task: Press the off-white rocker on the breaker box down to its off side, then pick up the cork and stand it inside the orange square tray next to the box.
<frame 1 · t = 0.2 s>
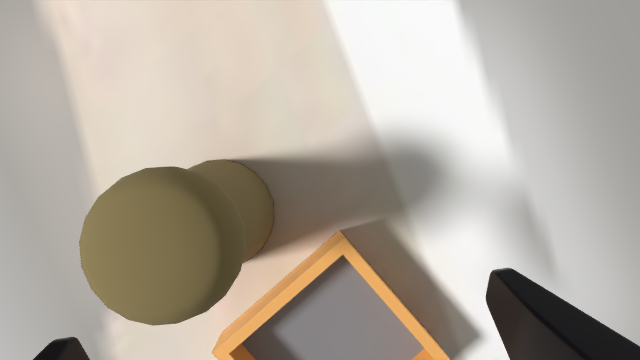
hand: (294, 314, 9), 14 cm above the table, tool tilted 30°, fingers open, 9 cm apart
cork: (220, 213, 23), on the table
orange square tray: (331, 338, 24), on the table
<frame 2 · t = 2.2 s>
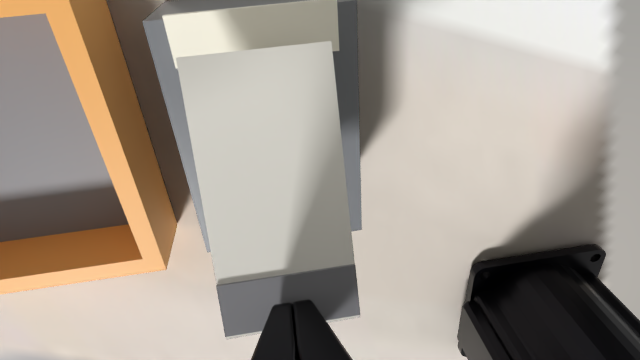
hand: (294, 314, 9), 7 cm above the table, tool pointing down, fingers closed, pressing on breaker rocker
breaker box: (267, 104, 14), on the table
orange square tray: (4, 136, 13), on the table
breaker rocker: (275, 193, 9), point 6 cm above the table, hinge at 20.0°, touching gripper
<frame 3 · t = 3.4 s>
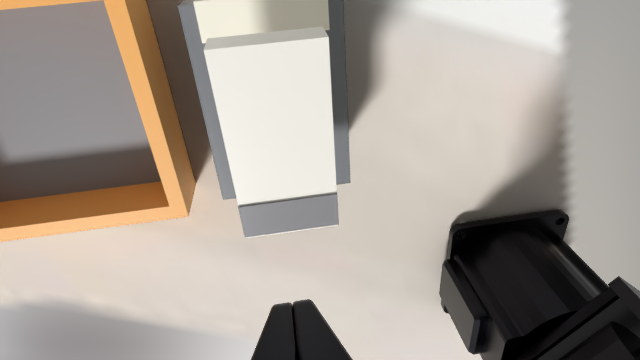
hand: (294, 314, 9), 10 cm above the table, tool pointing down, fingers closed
breaker box: (272, 80, 17), on the table
orange square tray: (56, 104, 16), on the table
breaker rocker: (280, 143, 12), point 6 cm above the table, hinge at -2.9°
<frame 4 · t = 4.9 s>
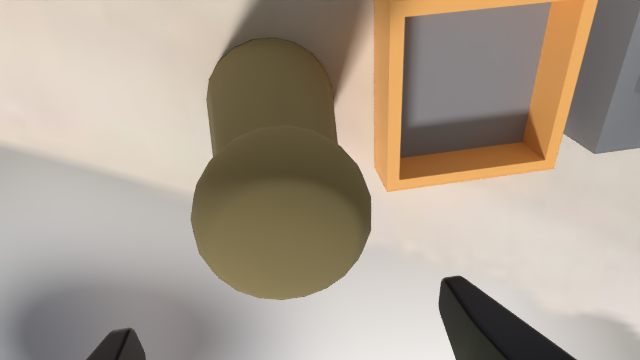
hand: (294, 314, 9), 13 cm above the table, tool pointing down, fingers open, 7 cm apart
cork: (270, 100, 20), on the table
breaker box: (617, 61, 22), on the table
orange square tray: (460, 80, 21), on the table
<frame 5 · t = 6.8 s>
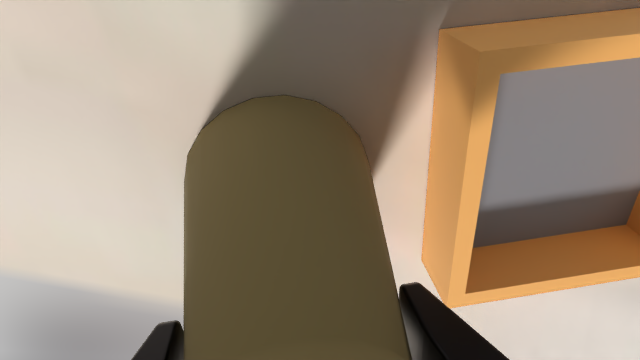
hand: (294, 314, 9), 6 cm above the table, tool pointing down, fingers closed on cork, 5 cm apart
cork: (279, 179, 14), on the table, touching gripper
orange square tray: (550, 147, 15), on the table
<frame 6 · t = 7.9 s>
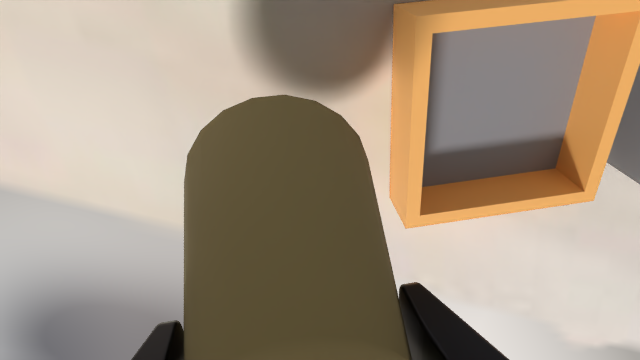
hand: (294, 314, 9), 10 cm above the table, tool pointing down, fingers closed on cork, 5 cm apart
cork: (279, 179, 14), point 4 cm above the table, touching gripper
orange square tray: (488, 101, 18), on the table
when the fingers open (7 cm above the table, at t = 10.9 s): cork drops 1 cm, resting on orange square tray.
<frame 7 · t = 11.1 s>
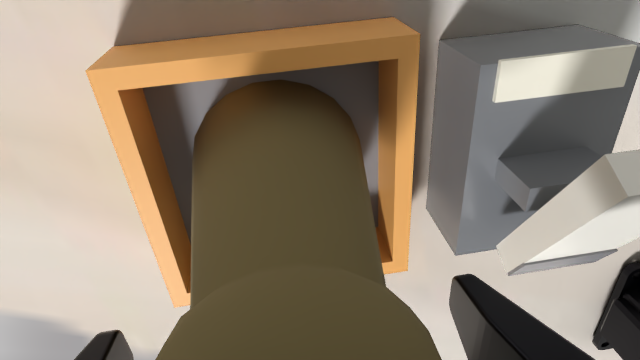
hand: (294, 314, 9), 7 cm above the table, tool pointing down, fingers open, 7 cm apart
cork: (278, 159, 15), resting on orange square tray
breaker box: (494, 125, 16), on the table
orange square tray: (275, 154, 15), on the table
breaker rocker: (597, 220, 11), point 6 cm above the table, hinge at -30.8°
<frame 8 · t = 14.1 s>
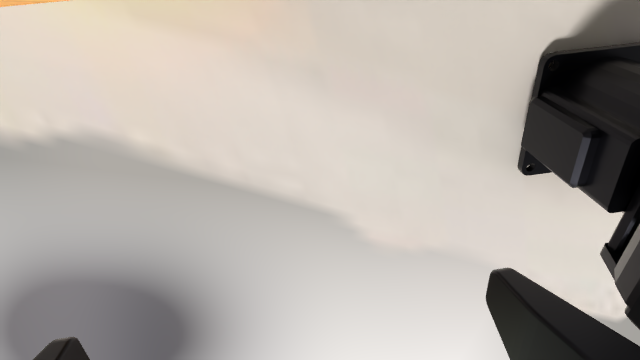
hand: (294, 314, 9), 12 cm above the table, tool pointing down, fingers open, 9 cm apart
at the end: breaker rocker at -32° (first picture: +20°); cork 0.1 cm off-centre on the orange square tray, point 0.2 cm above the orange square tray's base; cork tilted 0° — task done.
